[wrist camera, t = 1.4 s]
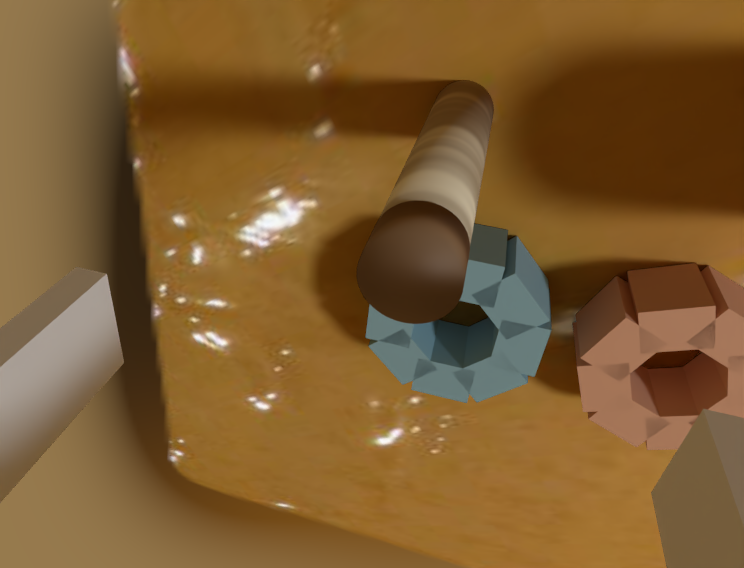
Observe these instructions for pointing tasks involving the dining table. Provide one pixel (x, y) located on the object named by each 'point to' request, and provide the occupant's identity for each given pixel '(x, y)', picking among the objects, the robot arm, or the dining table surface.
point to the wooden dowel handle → (430, 213)
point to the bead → (475, 327)
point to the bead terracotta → (661, 334)
